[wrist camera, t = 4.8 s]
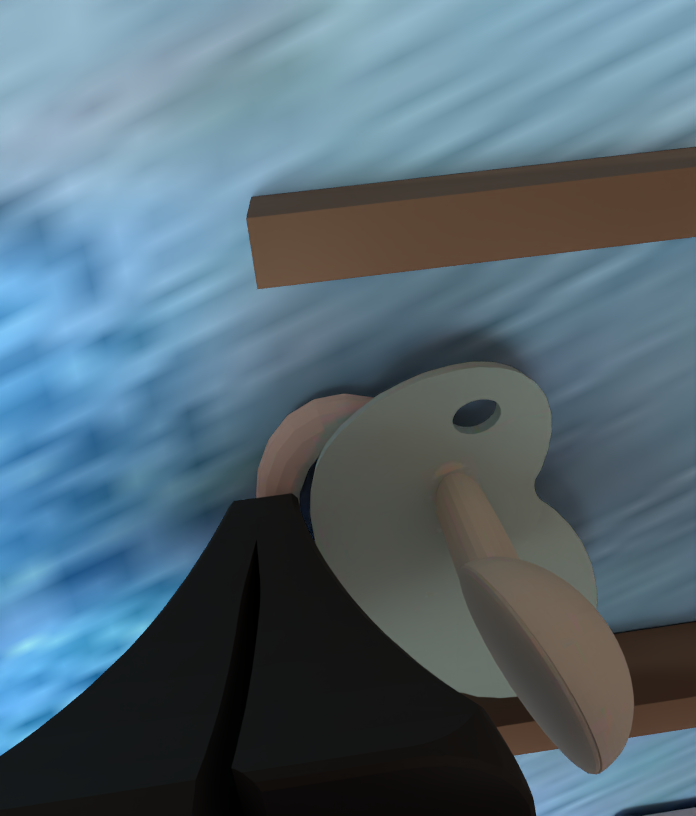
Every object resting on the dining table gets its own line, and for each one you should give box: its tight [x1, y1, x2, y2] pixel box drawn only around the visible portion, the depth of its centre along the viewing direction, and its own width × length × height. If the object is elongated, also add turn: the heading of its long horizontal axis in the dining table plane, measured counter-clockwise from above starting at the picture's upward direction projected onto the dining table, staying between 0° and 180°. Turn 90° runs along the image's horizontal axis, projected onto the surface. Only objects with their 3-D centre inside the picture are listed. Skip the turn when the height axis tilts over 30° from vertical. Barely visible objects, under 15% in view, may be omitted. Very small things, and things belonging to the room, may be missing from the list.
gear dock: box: [246, 147, 696, 756], centre depth 13 cm, size 12×12×2 cm
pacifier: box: [256, 361, 634, 774], centre depth 11 cm, size 7×6×6 cm
